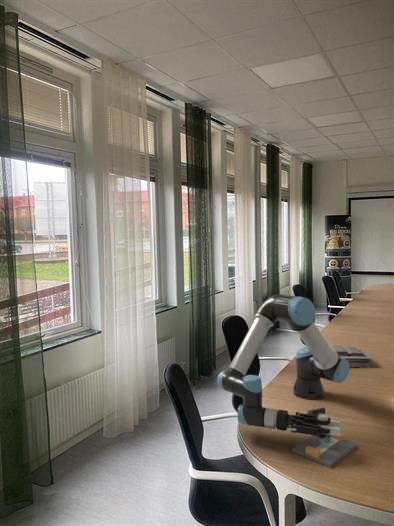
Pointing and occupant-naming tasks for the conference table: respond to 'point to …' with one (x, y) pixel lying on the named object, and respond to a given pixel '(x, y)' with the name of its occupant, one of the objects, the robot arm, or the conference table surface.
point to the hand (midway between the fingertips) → (340, 428)
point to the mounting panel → (325, 449)
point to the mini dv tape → (316, 411)
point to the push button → (325, 421)
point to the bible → (353, 356)
